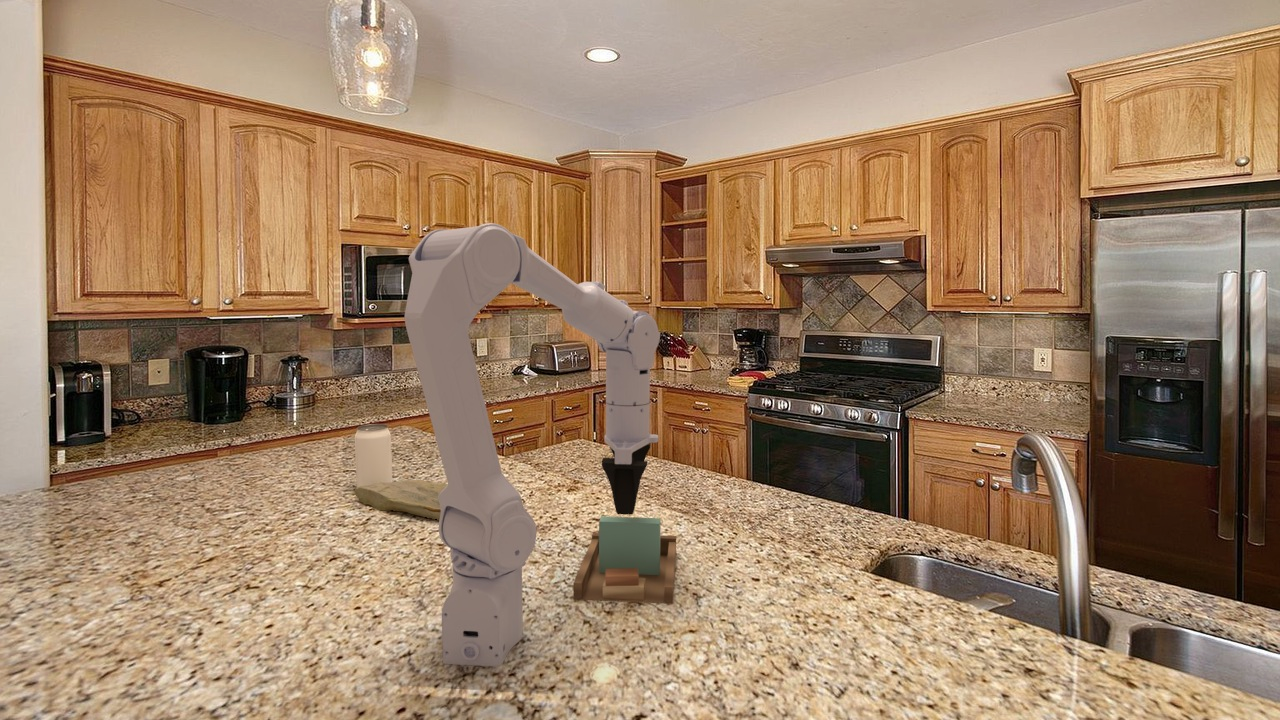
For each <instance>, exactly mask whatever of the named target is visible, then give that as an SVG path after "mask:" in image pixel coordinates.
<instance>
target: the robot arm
mask: <svg viewBox="0 0 1280 720" xmlns="http://www.w3.org/2000/svg"><path fill="white" fill-rule="evenodd" d="M408 263H409V266H410V269H411V270H410V271H411V273H412V274H411V279H410V282H409V283H410V284H409V290H408V293H407V300H406V306H405V311H404V323H405V328H406V332H407V337H408V340H409V343H410V346H411V350H412V355H413V359H414V362H415V365H416V366H415V367H416V369H417V373H418V377H419V381H420V384H421V387H422V388H421V389H422V391H423V395H424V399H425V402H426V403H425V404H426V407H427V410H428V414H429V417H430V422H431V425H432V430H433V433H434V437H435V440H436V445H437V447H438V451H439V455H440V458H441V462H442V465H443V466H442V467H443V470H444V474H445V478H446V481H447V484H448V485H447V486H446V487H445V488H444V489H443V490H442V491H441V493H440V494H439V495H438V499H439V502H440V508H441V514H440V519H439V520H438V534H439V537H440V539H441V541H442V544H444V545H445V546H446V547H448V548H449V549H450V552H449V553H450V559H451V560H452V562H451V564H452V585H451V588H450V592H449V593H448V595H447V597H446V598H445V600H444V602H443V605H442V608H441V638H442V640H441V641H442V643H441V644H442V664H444V665H445V664H446V665H461V666H477V667H478V666H479V667H480V666H482V667H495V668H496V667H499V668H500V667H502V665H503V663H504V661H505V659H506V657H507V655H508V654H509V652H510V651H511V649H513V647H514V646H516V645H517V644H518V643H519V642H520V641H521V640H522V638H523V634H524V621H523V620H524V615H523V613H524V611H523V610H524V609H523V605H524V604H523V603H524V602H523V567H524V566H526V561H527V560H528V559H529V557H530V556H531V554H532V552H533V550H534V548H535V544H536V541H537V525H536V523H535V520H534V518H533V517H532V516H531V514H530V513H529V512H528V511H527V510H526V508H525V507H524V504H523V500H522V496H521V494H520V493H519V491H518V490H517V488H515V487H514V486H513V484H512V483H511V482H510V480H508V479H507V477H506V476H505V475H504V473H503V472H502V468H501V464H500V460H499V459H500V458H499V455H498V451H497V447H496V443H495V439H494V436H493V431H492V426H491V422H490V418H489V414H488V410H487V405H486V401H485V397H484V393H483V389H482V385H481V381H480V377H479V372H478V369H477V365H476V364H477V363H476V360H475V355H474V352H473V348H472V344H471V340H470V339H471V338H470V336H469V335H470V334H469V331H468V330H469V327H470V325H471V323H472V322H473V321H474V319H475V317H476V316H477V314H478V313H479V311H480V310H482V309H483V308H485V306H487V305H488V304H489V303H491V301H493V300H494V299H495V298H496V297H497V296H498V295H500V293H502V292H504V290H506V289H507V288H508V287H509V286H510V285H511V284H513V285H514V286H516V287H518V288H520V289H522V290H523V291H524V290H525V291H526V292H528V293H530V294H532V295H534V296H536V297H537V298H540V299H542V300H544V301H546V302H547V303H550V304H551V305H553V306H555V307H557V308H560V309H561V313H562V314H561V315H562V318H563V320H564V322H565V323H566V324H568V325H569V326H571V327H572V328H573V329H575V330H577V331H580V332H581V333H583V334H585V335H587V336H588V337H590V338H592V339H594V340H595V341H596V344H597V346H598V348H599V349H600V351H601V352H602V353H605V435H604V443H605V444H606V445H608V447H609V449H610V451H611V453H612V455H613V457H603V458H602V460H601V467H602V470H603V471H604V474H605V475H606V477H607V480H608V482H609V485H610V488H611V493H612V498H613V504H614V509H615V512H616V514H617V515H631V516H632V515H634V512H635V509H636V504H637V499H638V498H637V497H638V493H639V489H640V484H641V478H642V476H643V474H644V472H645V471H646V469H647V467H648V466H647V465H648V461H647V460H646V457H647V455H648V453H649V450H650V449H651V445H652V443H653V444H654V443H658V442H659V435H658V434H654V433H650V410H651V409H650V404H651V403H650V402H651V401H650V400H651V395H650V393H651V390H650V389H651V382H650V381H651V369H652V368H653V364H655V353H656V350H657V348H658V346H659V343H660V340H661V339H660V338H661V332H660V331H659V328H658V324H657V322H656V320H655V318H653V317H652V316H651V315H650V314H649V313H648V311H647V312H646V311H644V310H633V309H632V308H631V307H630V306H629V303H628V301H626V300H625V299H618V298H617V297H615V296H613V295H612V294H610V293H609V292H608V291H606V290H605V289H606V288H605V287H606V286H605V284H604V283H602V282H600V281H583V282H579V283H578V284H577V283H576V282H575V281H574V280H572V279H571V278H569V277H568V276H567V274H566V275H565V274H564V273H563V272H562V271H560V270H559V269H558V268H556V267H555V266H553V265H552V264H551V263H549V262H548V261H547V260H545V259H544V258H543V257H542V256H540V255H539V254H538V253H536V252H535V251H534V250H532V249H531V248H530V247H529V246H528V244H527V242H526V240H525V238H523V237H521V236H520V235H517V234H515V233H512V232H511V231H509V230H508V228H506V227H504V226H503V225H500V224H498V223H492V222H487V223H483V224H480V225H477V226H471V227H462V228H451V229H448V228H445V229H443V228H442V229H441V228H440V229H435V230H431V231H430V232H428V233H427V234H426V235H424V237H423V238H422V239H421V240H420V241H419V243H418V244H417V246H415V248H414V250H413V251H412V252H411V253H410V255H409V257H408Z"/></svg>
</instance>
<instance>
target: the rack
mask: <svg viewBox="0 0 1280 720" xmlns="http://www.w3.org/2000/svg"><path fill="white" fill-rule="evenodd" d="M676 559H677V536H676V535H661V534H660V574H659V575H642V574H639V578H645V596H644V600H631V599H609V598H603V583H604V580H605V577H606V573H599V532H593V533H592V535H591V540H590V542H589V545H588V547H587V550H586V552H585V555H584V556H583V560H582V562H581V564H580V567H579V569H578V572H577V574H576V576H575V578H574V579H573V580H574V581H573V583H572V584H573V589H572V591H573V593H572V594H573V595H572V596H573V598H572V599H573V600H581V601H605V602H623V603H624V602H626V603H627V602H628V603H646V604H648V603H649V604H669V605H673V604H674V603H673V602H674V590H675V577H676V576H675V574H676V562H677V561H676Z"/></svg>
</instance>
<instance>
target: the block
mask: <svg viewBox="0 0 1280 720" xmlns="http://www.w3.org/2000/svg"><path fill="white" fill-rule="evenodd" d="M598 533H599V573H606V569H622V568H638V574H642V575H659V574H660V535H661V517H660V518H659V517H658V518H657V517H631V516H630V517H629V516H606V515H605V516H600V518H599V521H598Z"/></svg>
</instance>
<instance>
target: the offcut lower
mask: <svg viewBox="0 0 1280 720" xmlns="http://www.w3.org/2000/svg"><path fill="white" fill-rule="evenodd" d="M644 596H645V578H639V585H637V586H606V577H605V580H604V583H603V598H609V599H631V600H644Z"/></svg>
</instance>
